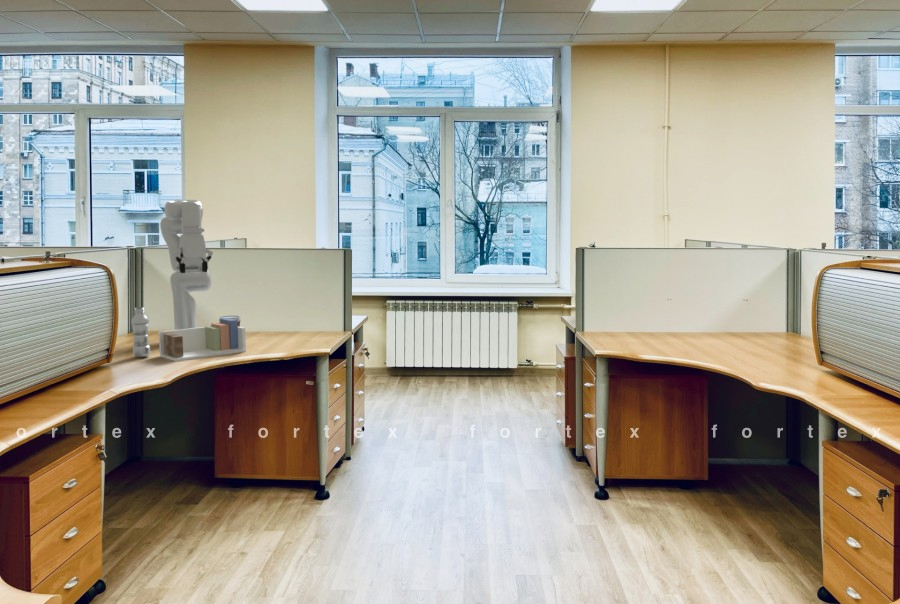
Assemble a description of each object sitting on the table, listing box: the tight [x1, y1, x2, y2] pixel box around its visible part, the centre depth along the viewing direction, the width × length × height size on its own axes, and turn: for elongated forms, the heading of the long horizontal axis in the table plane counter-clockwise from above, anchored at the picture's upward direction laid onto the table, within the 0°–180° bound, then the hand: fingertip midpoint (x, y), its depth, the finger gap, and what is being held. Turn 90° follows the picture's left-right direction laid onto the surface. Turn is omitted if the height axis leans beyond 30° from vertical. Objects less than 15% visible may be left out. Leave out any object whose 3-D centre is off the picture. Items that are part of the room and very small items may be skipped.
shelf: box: [158, 318, 247, 362], centre depth 292 cm, size 15×30×13 cm, turn 134°
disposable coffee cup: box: [218, 315, 242, 327], centre depth 317 cm, size 10×10×12 cm
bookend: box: [164, 333, 183, 357], centre depth 283 cm, size 11×3×8 cm, turn 44°
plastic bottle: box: [131, 307, 151, 358], centre depth 285 cm, size 6×7×20 cm
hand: (194, 272), depth 298 cm, fingers open, 9 cm apart
